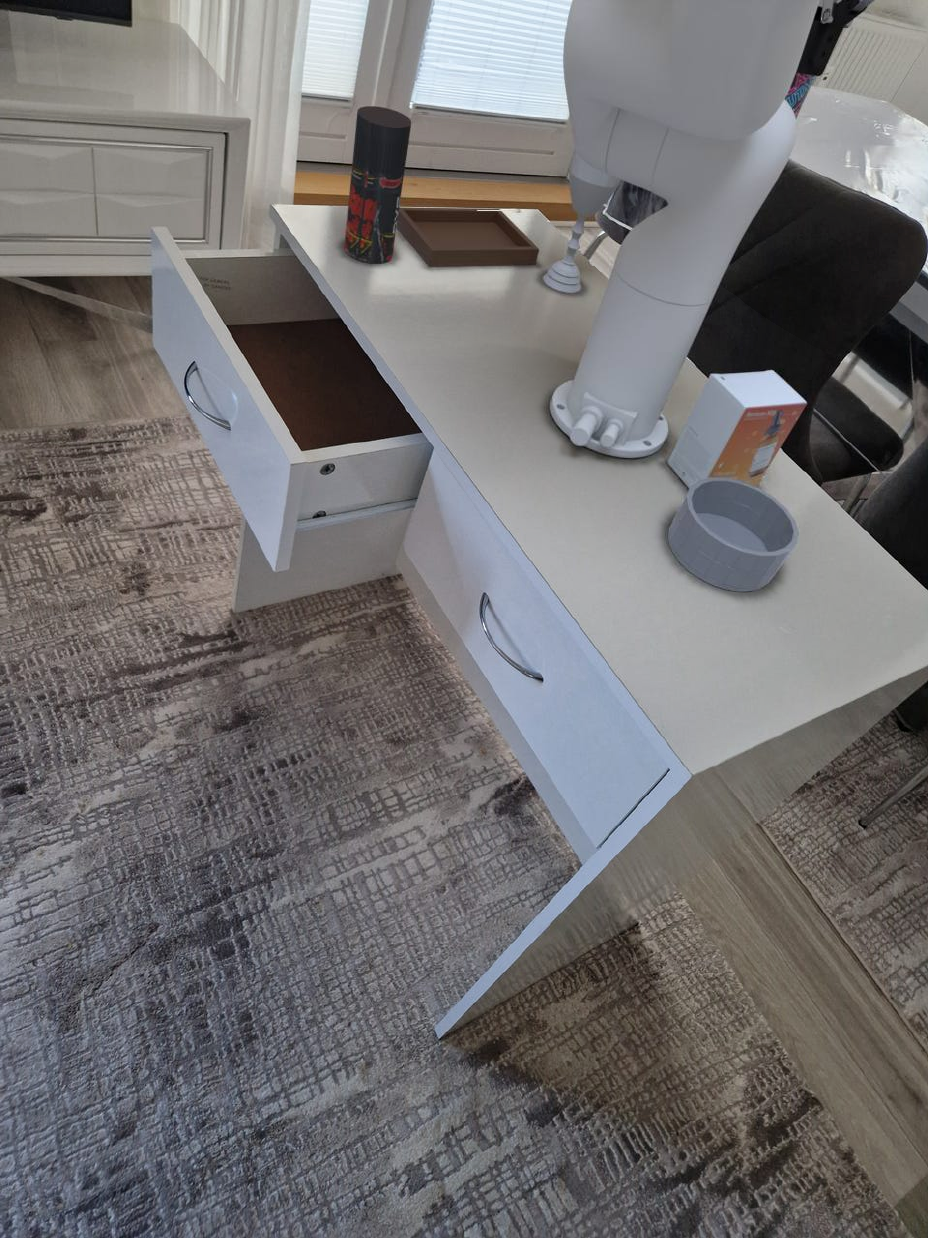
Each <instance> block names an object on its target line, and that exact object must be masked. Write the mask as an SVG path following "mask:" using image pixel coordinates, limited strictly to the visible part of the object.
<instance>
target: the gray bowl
mask: <svg viewBox="0 0 928 1238" xmlns="http://www.w3.org/2000/svg"><path fill="white" fill-rule="evenodd" d="M799 534H800V533H799V529H798V526H797V522H796V519H795V518H794V517H793V516H792V514H791V513H790V511H789V510H788V509H787V507H786V506H784V505H783V504H782V503H781V502H780V501H779V500H778V499H777V498H776V497H774V496H772V495H771V494H770V493H768V492H766V491H765V490H763V489H761V488H760V487H758V486H757V487H755V486H753V485H751V484H748V483H746V482H744V481H740V480H735V479H731V478H726V477H710V478H706V479H702V480H699V481H697V482H696V483H695V484H693V485H692V486H691V487H690V488H688V490H687V492H686V494H685V496H684V497H683V500H682V501H681V504H680V506H679V507H678V509H677V511H676V513H675V515H674V517H673V518H672V520H671V524H670V526H669V527H668V531H667V541H668V542H667V543H668V546H669V549H670V550H671V552H672V554H673V555H674V557H675V559H676V560H677V561H678V562H679V564H680V565H681V566H682V567H684V568H685V569H686V570H687V571H688V572H689V573H691V574H692V575H693V576H694V577H696V578H698V579H699V580H700V581H701V580H702V581H703V582H704V583H707V584H709V585H711V586H714V587H716V588H719V589H723V590H726V591H731V592H738V593H742V592H743V593H745V592H754V591H757V590H760V589H763V588H764V587H766V586H767V585H768V584H769V583H770V582H771V581H772V579H773V578H774V577H775V576H776V574H777V573H778V571H779V570H780V569H781V568H782V565H783V564H784V563H785V562H786V560H787V558H789V556H790V554H791V553H792V552H793V550H794V548H795V547H796V545H797V543H798V539H799Z"/></svg>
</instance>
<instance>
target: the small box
mask: <svg viewBox="0 0 928 1238" xmlns="http://www.w3.org/2000/svg"><path fill="white" fill-rule="evenodd" d="M807 405H808V402H807V401H806V400H805V398H804V397H802V396H801V395H800V394H799V393H798V392H797V391H796V390H795V389H794V388H793V387H792V386H791V385H790V384H789V383H788V382H787V381H785V379H783V378H782V377H781V376H780V375H779V374H778V373H777V372H775V371H774V370H772V369H770V370H769V369H767V370H764V371H750V372H735V373H733V372H732V373H710V374H709V376H708V379H707V380H706V382H705V385H704V386H703V389H702V390H701V393H700V394H699V397H698V399H697V401H696V403H695V405H694V407H693V408H692V411H691V413H690V415H689V417H688V419H687V421H686V423H685V426H684V427H683V430H682V431H681V433H680V435H679V438H678V440H677V441H676V443H675V446H674V447H673V450H672V451H671V454H670V456H669V458H668V460H667V465H668V466H669V467H670V468H671V470H673V472H674V473H675V474H676V475H677V476H678V478H680V479H681V481H682V482H683V483H684V485H686V487H687V488H688V489H689V488H690V487H691V486H692V485H693V484H695V483H696V482H697V481H699V480H702V479H706V478H710V477H726V478H731V479H735V480H740V481H744V482H746V483H748V484H751V485H753V486H755V487H758V485H759V483H760V482H761V481H762V479H763V477H764V475H765V474H766V473H767V471H768V469H769V467H770V465H771V464H772V462H773V461H774V459H775V457H776V456H777V454H778V453H779V451H780V449H781V447H782V446H783V444H784V442H785V441H786V439H787V438H788V436H789V434H790V433H791V431H792V430H793V428H794V426H795V424H796V423H797V421H798V420H799V418H800V417H801V415H802V413H803V412H804V410H805V408H806V406H807Z"/></svg>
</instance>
